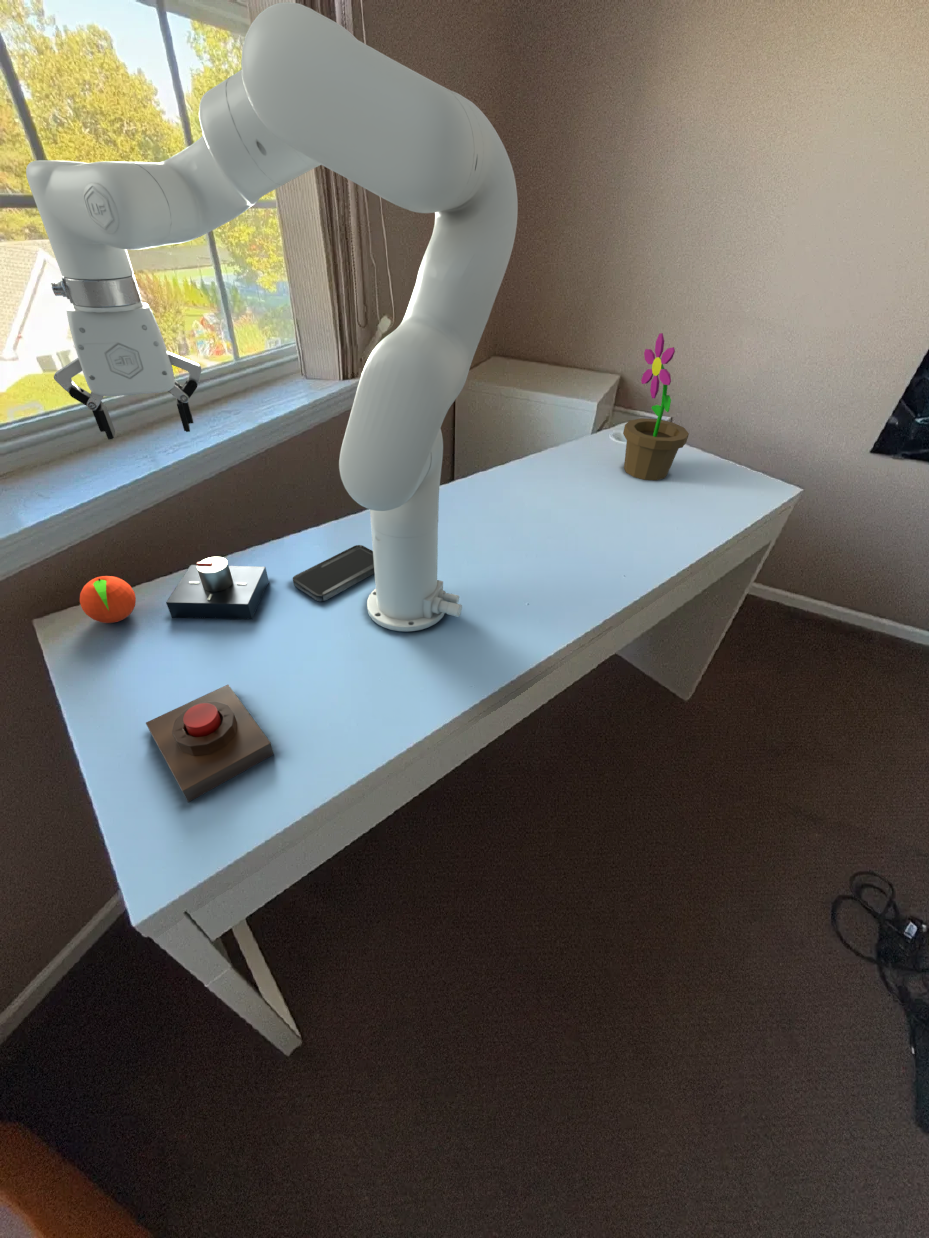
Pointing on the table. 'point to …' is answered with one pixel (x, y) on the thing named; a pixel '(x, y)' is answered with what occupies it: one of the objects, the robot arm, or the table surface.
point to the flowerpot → (654, 425)
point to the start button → (202, 720)
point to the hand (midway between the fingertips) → (150, 432)
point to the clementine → (107, 599)
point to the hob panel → (219, 595)
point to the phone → (336, 573)
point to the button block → (210, 744)
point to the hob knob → (214, 574)
